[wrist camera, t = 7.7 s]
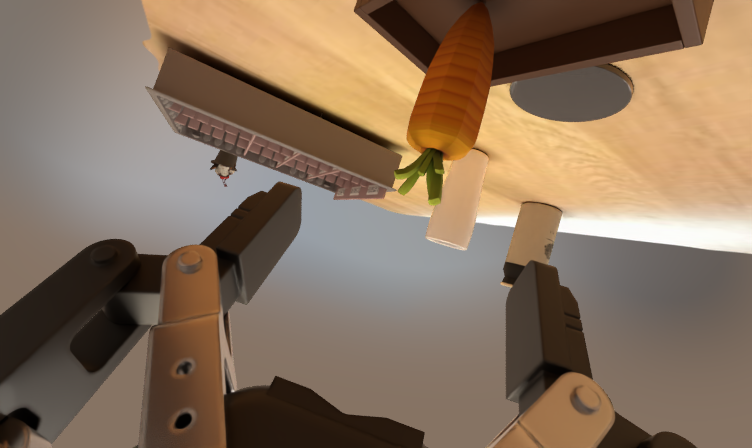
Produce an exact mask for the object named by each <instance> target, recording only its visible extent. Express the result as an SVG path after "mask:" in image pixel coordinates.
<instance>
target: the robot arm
mask: <svg viewBox="0 0 752 448" xmlns="http://www.w3.org/2000/svg"><path fill="white" fill-rule="evenodd" d="M301 199H302V193H301V189H300V188H299V187H296V186H293V185H290V184H287V183H283V182H278V183H276V184H275V185H274V187H272V189H271V190H270V191H269V192H268V193H267V192H264V191H260V192H258V193H256V194H254V195H251V196H249V197H248V198H247V199H246V200H245V201H243V202H242V203H241V204H240V205H239V207H238V209H235V210H234V211H233V212H232V213H231V216H228V217H227V218H226V219H225V220H224V221H223V222H222V223H221V224H220V225H219V226H218V227H217V228H216V229H215V230H214V231H213V232H212V233H211V234H210V235H209V236H208V237H207V238H206V239H205V240H204V241H203V242H202V243H201V244H200V245H189V246H184V247H181V248H179V249H177V250H175V251H173V252H172V253H170V254H169V255H148V254H137V252H136V249H135V247H134V245H132V243H130V242H128V241H126V240H122V239H109V240H103V241H100V242H97V243H94V244H92V245H90V246H88V247H86V248H85V249H84V250H82V251H81V252H80V253H78V254H77V255H76V256H75V257H73V258H72V259H71V260H70V261H68V262H67V263H66V264H65V265H63V266H62V267H61V268H59V269H58V270H57V271H56V272H54V273H53V274H52V275H51V276H49V277H48V278H47V279H45V280H44V281H43V282H42V283H40V284H39V285H38V286H37V287H35V288H34V289H33V290H32V291H30V292H29V293H28V294H27V295H26V296H24V297H23V298H21V299H20V300H19V301H18V302H16V303H15V304H14V305H13V306H11V307H10V308H9V309H8V310H6V311H5V312H4V313H3V314H2V315H0V448H52V443H53V442H54V441H55V440H56V438H57V437H58V436H59V435H60V434H61V432H62V431H63V430H64V429H65V428H66V427H67V425H68V424H69V423H70V422H71V421H72V419H73V418H74V417H75V416H76V415H77V413H78V412H79V411H80V410H81V409H82V408H83V406H84V405H85V404H86V403H87V402H88V400H89V399H90V398H91V397H92V396H93V394H94V393H95V392H96V391H97V390H98V388H99V387H100V386H101V385H102V384H103V382H104V381H105V380H106V379H107V378H108V376H109V375H110V374H111V373H112V372H113V371H114V369H115V368H116V367H117V366H118V365H119V363H120V362H121V361H122V360H123V359H124V358H125V356H126V355H127V354H128V353H129V352H130V350H131V349H132V348H133V347H134V346H135V345H136V343H137V342H138V341H139V340H140V339H141V337H142V336H143V335H144V334H145V333H146V331H147V330H148V329H149V328H150V327H151V325H154V326H152V327H151V329H150V332H149V338H148V348H147V359H146V370H145V380H144V390H143V400H142V412H141V422H140V432H139V442H138V445H137V446H135V447H133V448H427V447H426V446H425V445H423V439H424V432H423V431H420V430H417V429H414V428H412V427H409V426H406V425H404V424H401V423H399V422H396V421H393V420H391V419H388V418H382V417H370V416H359V415H348V414H344V413H342V412H340V411H339V410H338V409H337V408H335V407H334V406H333V405H331V404H330V403H329V402H327V401H326V400H325V399H323V398H322V397H321V396H319V395H318V394H317V393H315V392H314V391H313V390H311V389H309V388H306V387H304V386H301V385H299V384H296V383H293V382H291V381H288V380H285V379H282V378H280V377H277V376H275V378H274V380H273V382H272V384H271V385H270V386H266V385H265V386H252V387H247V388H243V389H240V390H237V383H236V377H235V370H234V362H233V350H232V338H231V327H230V315H229V309H230V308H231V306H232V305H233V304H234V302H235V301H237V302H240V303H242V304H245V305H247V304H248V303H249V301H250V300H251V299H252V297H253V295H254V294H255V293H256V291H257V290H258V289H259V287H260V286H261V285H262V283H263V282H264V280H265V279H266V278H267V276H268V275H269V273H270V272H271V271H272V269H273V268H274V266H275V265H276V264H277V262H278V261H279V259H280V258H281V256H282V255H283V254H284V252H285V251H286V249H287V248H288V247H289V245H290V244H291V243H292V241H293V240H294V238H295V237H296V235H297V233H298V231H299V228H300V224H301ZM101 308H102V309H101ZM100 309H101V310H100ZM99 310H100V311H99ZM98 311H99V312H98ZM97 312H98V313H97ZM96 313H97V314H96ZM95 314H96V315H95ZM94 315H95V316H94ZM93 316H94V317H93ZM92 317H93V318H92ZM91 318H92V319H91ZM90 319H91V320H90ZM89 320H90V321H89ZM88 321H89V322H88ZM87 322H88V323H87ZM86 323H87V324H86ZM85 324H86V325H85ZM84 325H85V326H84ZM83 326H84V327H83ZM82 327H83V328H82ZM582 330H583V328H582V323H581V320H580V313H579V308H578V303H577V301H576V300H575V298H574V296H573V295H572V293H571V291H570V290H569V288H567V287H564V286H561V285H560V283H559V277H558V271H557V268H556V267H554V266H551V265H547V264H544V263H541V262H538V261H534V260H530V261H529V262H528V263H527V265H526V266H525V268H524V269H523V271H522V272H521V274H520V275H519V277H518V278H517V280H516V282H515V283H514V285H513V286H512V288H511V289H510V292H509V294H508V297H507V301H506V399H508V400H510V401H513V402H516V403H519V414H518V415H517V416H516V417H515V418H514V419H513V420H512V421H511V422H510V423H509V424H508V425H507V426H506V427H505V428H504V429H503V430H502V431H501V432H500V433H499V434H498V435H497V436H496V437H495V438H494V439H493V440H492V441H491V442H490V443H489V444H488V446H486V447H485V448H696V446H694V445H693V444H692V443H691V442H689V441H688V440H686V439H685V438H683V437H681V436H679V435H677V434H675V433H672V432H660V433H657V434H655V435H653V436H651V435H649V434H648V433H646V432H645V431H643V430H642V429H640V428H639V427H637V426H636V425H634V424H633V423H631V422H630V421H628V420H627V419H625V418H624V417H622V416H621V415H619V414H618V413H617V412H615V411H614V408H613V405H612V402H611V400H610V398H609V397H608V395H607V394H606V393H605V391H604V390H603V389H602V388H601V387H600V386H599V385H598V384H597V383H596V382H595V381H593V378H592V373H591V368H590V363H589V358H588V353H587V348H586V343H585V338H584V333H583V332H582Z"/></svg>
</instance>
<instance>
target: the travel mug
mask: <svg viewBox="0 0 752 448" xmlns="http://www.w3.org/2000/svg"><path fill="white" fill-rule="evenodd" d="M561 216H562V212H561V211H560V210H558V209H557V208H555V207H552V206H549V205H546V204H541V203H533V202H529V203H524V204H522V205H521V209H520V212H519V216H518V219H517V223H516V226H515V230H514V233H513V237H512V240H511V244H510V247H509V250H508V254H507V258H506V261H505V265H504V268H503V270H504V275H505V277H504V279H503V281H502V282H501V285H504V286H507V287H510V288H512V286H513V285H514V283H515V282H516V280H517V278H518V277H519V275H520V274H521V272H522V271H523V269H524V268H525V266H526V265H527V263H528V262H529V261H530V260H534V261H538V262H541V263H544V264H547V265H548V263H549V259H550V255H551V252H552V248H553V245H554V241H555V237H556V234H557V230H558V227H559V223H560V219H561Z"/></svg>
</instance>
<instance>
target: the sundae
mask: <svg viewBox="0 0 752 448" xmlns="http://www.w3.org/2000/svg"><path fill="white" fill-rule="evenodd" d="M236 161H237V156H236V155H233V154H231V153H228V152H225V151H223V150H220V152H219V153H218V155H217V157H216V159H215V160H212V161H211V163H213V164H214V165H213V166H212V167H211V168H210V169H211V170H212V169H216V170H215V172H216V173H217V175H219V176H220V178H221V179H224V178H226V179H227V178H229V175H231V174H233V173H234V171H237V170H236V168H235V166H236ZM226 179H225V180H226ZM225 186H227V185H226V184H225Z"/></svg>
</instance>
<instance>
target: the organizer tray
mask: <svg viewBox="0 0 752 448" xmlns="http://www.w3.org/2000/svg"><path fill="white" fill-rule="evenodd" d="M146 89H147V91H148V92H149V94H150V95H151V97H152V99H153V100H154V102H155V103H156V105H157V106H158V108H159V109H160V111H161V112H162V114H163V115H164V117H165V119H166V120H167V122H168V123H169V125H170V126H171V127H172V129H173V130H174V132H175V133H178V134H181V135H183V136H186V137H188V138H191V139H194V140H196V141H199V142H202V143H204V144H207V145H210V146H212V147H215V148H217V149H220V150H223V151H225V152H228V153H231V154H233V155H236V156H239V157H241V158H244V159H247V160H249V161H252V162H255V163H257V164H260V165H263V166H265V167H268V168H271V169H273V170H276V171H279V172H281V173H284V174H287V175H289V176H292V177H295V178H297V179H300V180H302V181H305V182H308V183H310V184H313V185H316V186H318V187H321V188H324V189H326V190H329V191H332V192H334V193H335V196H334V200H349V199H384V197H385V194H386V192H392V191H397V190H396V189H393V188H392V187H393V184H394V181H395V175H394V170H398V168H399V165H400V162H401V158H402V156H401V155H399V154H397V153H395V152H393V151H391V150H388V149H386V148H384V147H382V146H380V145H378V144H376V143H373V142H371V141H369V140H367V139H365V138H363V137H360V136H358V135H356V134H354V133H352V132H350V131H348V130H345V129H343V128H341V127H339V126H337V125H335V124H332V123H330V122H328V121H326V120H324V119H322V118H321V117H317V116H315V115H313V114H311V113H309V112H307V111H305V110H302V109H300V108H298V107H296V106H294V105H292V104H289V103H287V102H285V101H283V100H281V99H279V98H277V97H274V96H272V95H270V94H268V93H266V92H264V91H261V90H259V89H257V88H255V87H253V86H251V85H249V84H246V83H244V82H242V81H240V80H238V79H236V78H234V77H231V76H229V75H227V74H225V73H223V72H221V71H218V70H216V69H214V68H212V67H210V66H208V65H206V64H203V63H201V62H199V61H197V60H195V59H193V58H190V57H188V56H186V55H184V54H182V53H180V52H178V51H175V50H173V49H171V48H169V49H168V51H167V54H166V57H165V59H164V62H163V65H162V67H161V70H160V72H159V75H158V78H157V80H156V83H155V86H154V88H153V89H151V88H149V87H146ZM322 113H323V112H322ZM321 116H322V114H321Z"/></svg>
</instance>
